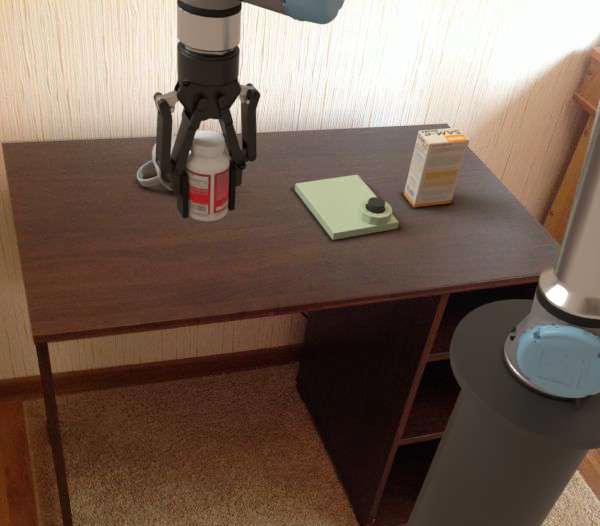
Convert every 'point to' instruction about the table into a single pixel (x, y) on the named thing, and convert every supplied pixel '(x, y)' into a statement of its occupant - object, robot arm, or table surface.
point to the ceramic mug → (160, 177)
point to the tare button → (376, 205)
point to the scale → (344, 206)
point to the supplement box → (435, 166)
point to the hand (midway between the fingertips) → (205, 208)
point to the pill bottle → (207, 177)
